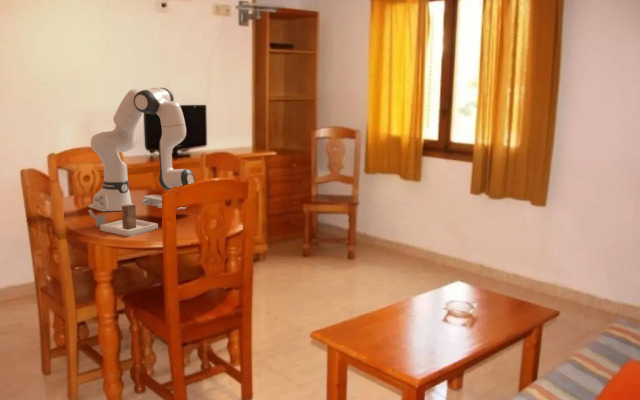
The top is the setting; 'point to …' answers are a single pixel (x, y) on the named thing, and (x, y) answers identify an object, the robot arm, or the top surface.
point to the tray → (118, 229)
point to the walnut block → (129, 216)
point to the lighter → (98, 218)
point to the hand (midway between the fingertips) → (150, 204)
